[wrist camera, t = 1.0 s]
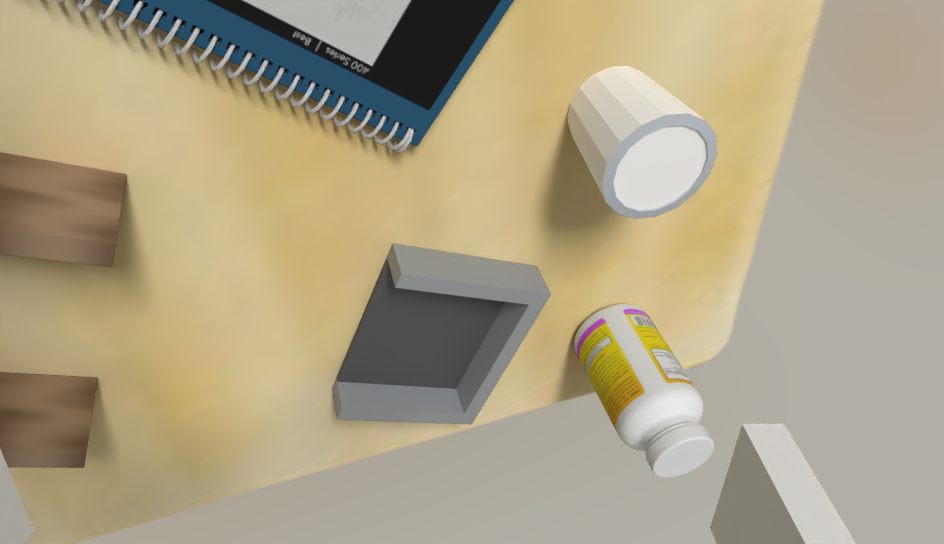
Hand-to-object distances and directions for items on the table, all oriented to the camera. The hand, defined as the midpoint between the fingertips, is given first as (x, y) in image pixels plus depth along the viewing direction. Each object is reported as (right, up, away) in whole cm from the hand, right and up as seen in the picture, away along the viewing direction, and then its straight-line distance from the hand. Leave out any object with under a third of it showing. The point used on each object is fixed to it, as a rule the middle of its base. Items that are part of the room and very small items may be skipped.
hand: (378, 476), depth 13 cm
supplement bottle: (+13, -1, +46) cm, 47 cm away
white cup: (+10, +14, +31) cm, 35 cm away
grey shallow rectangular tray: (-2, 0, +39) cm, 39 cm away
